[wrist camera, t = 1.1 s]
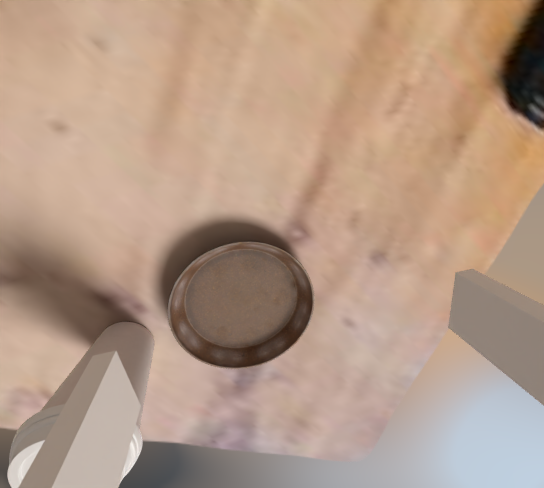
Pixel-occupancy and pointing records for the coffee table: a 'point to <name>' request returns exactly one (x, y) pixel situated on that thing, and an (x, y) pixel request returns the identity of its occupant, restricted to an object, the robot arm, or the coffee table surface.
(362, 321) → the coffee table surface
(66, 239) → the coffee table surface
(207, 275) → the plant saucer
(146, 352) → the coffee cup
